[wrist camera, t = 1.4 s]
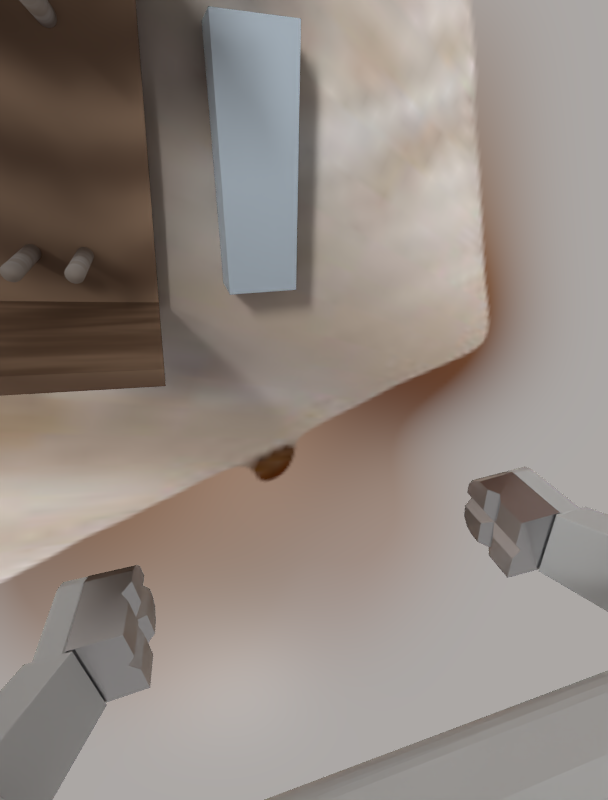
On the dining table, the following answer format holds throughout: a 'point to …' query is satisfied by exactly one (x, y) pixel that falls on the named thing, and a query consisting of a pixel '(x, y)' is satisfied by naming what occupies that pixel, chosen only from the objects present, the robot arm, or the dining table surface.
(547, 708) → the robot arm
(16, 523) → the dining table surface
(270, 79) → the shelf board
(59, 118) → the shelf rack
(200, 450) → the dining table surface
